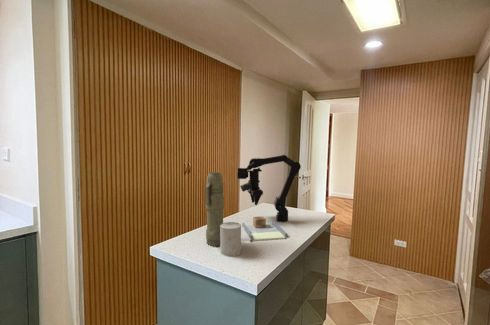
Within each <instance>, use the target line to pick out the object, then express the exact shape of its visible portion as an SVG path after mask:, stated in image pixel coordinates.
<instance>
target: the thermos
mask: <svg viewBox="0 0 490 325" xmlns="http://www.w3.org/2000/svg"><path fill="white" fill-rule="evenodd" d="M205 209H206V229H205V238H206V245H207V244H208V245H207V246H209V245H210V246H209V247H220V225H221V224H223V223H224V209H225V197H224V183H223V176H222V173H220V172H218V171H217V172H216V171H215V172H214V171H213V172H211V171H210V172H209V173H208V174H207V176H206V185H205Z"/></svg>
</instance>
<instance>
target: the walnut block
mask: <svg viewBox="0 0 490 325" xmlns="http://www.w3.org/2000/svg"><path fill="white" fill-rule="evenodd" d="M266 224H267V219H266V218H265V217H264V216H263V215H262V216H253V217H252V225H253V226H254V227H255V228H266Z"/></svg>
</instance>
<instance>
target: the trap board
mask: <svg viewBox="0 0 490 325" xmlns="http://www.w3.org/2000/svg"><path fill="white" fill-rule="evenodd" d="M241 227H242V228H243V230H244V232H245V233H246V234H247V237H248V238H249V239H250V240H249V241H250V242H251V243H253V242H265V241H279V240H280V241H281V240H287V239H288V238H287V236H288V234H287V233H288V232H286V231H285V230H284V229H283V228H282V227H281V226H280V225H278V224H277V222H275V220H272V221H271V223H270V224H269V223H268V224H267V223H266V228H255V227H254V226H253V224H251V225H246V224H245V222H242V223H241ZM269 228H274V229H269ZM251 232H253V233H251Z"/></svg>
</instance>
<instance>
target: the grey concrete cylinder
mask: <svg viewBox="0 0 490 325" xmlns="http://www.w3.org/2000/svg"><path fill="white" fill-rule="evenodd" d="M219 247H220V248H219V249H220V251H219V253H220V254H221V255H223V256H225V257H235V256H239V255H240V254H242V223H239V222H235V221H234V222H233V221H229V222H223V224H221V225H220V246H219Z"/></svg>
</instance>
